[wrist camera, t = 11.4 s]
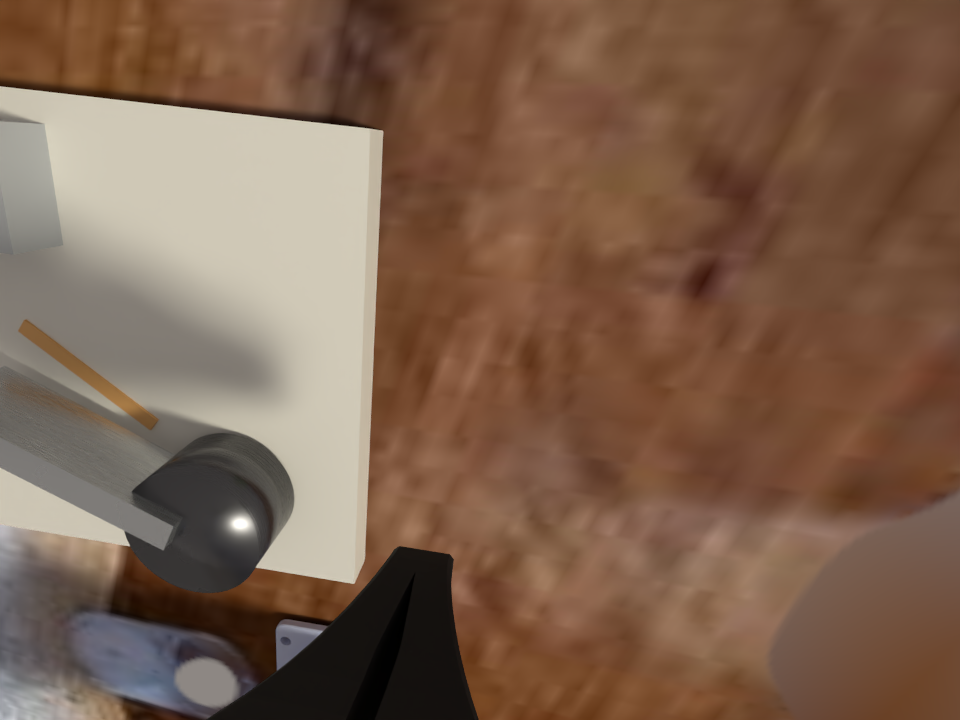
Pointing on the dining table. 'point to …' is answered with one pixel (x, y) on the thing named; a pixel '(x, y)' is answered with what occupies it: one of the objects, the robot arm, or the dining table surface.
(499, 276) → the dining table surface
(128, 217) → the leveling plate
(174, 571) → the knob
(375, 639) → the robot arm
